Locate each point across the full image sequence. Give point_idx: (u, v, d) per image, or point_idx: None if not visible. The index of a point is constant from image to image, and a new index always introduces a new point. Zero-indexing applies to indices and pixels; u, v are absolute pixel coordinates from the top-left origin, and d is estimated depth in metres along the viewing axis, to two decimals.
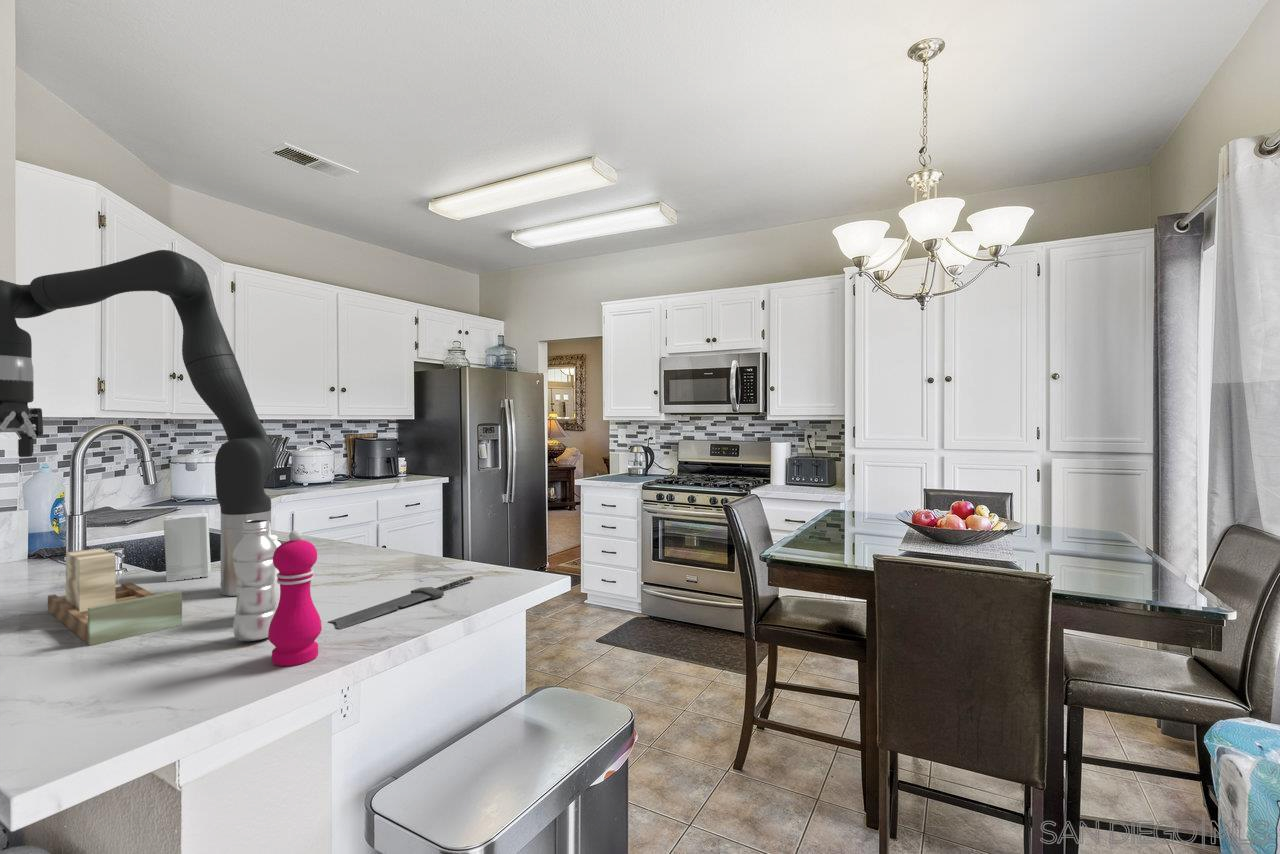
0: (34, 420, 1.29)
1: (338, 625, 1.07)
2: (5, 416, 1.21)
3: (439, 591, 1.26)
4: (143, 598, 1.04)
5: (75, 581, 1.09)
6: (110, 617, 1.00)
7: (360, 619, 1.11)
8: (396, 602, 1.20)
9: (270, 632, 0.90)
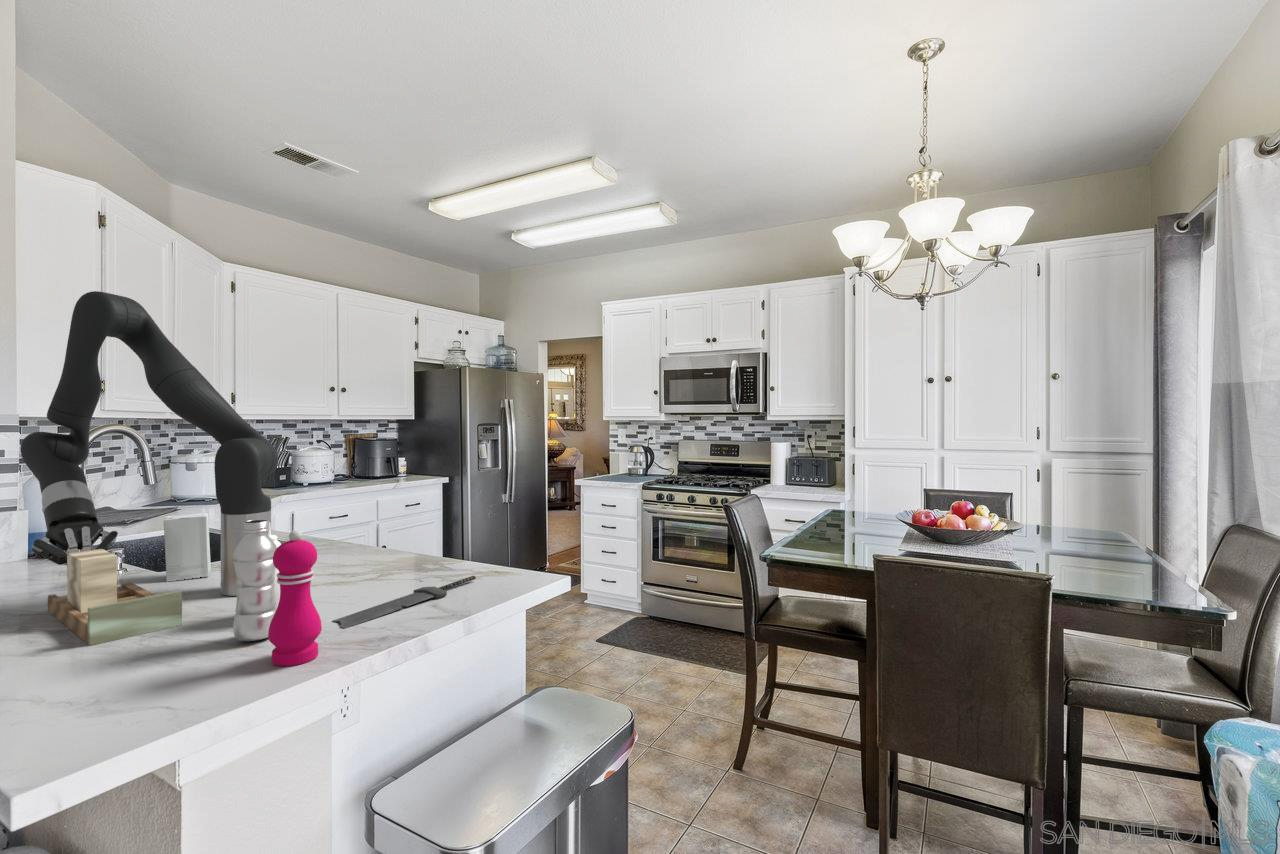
0: None
1: (342, 624, 1.08)
2: (65, 537, 1.17)
3: (442, 591, 1.26)
4: (143, 598, 1.04)
5: (76, 582, 1.09)
6: (110, 617, 1.00)
7: (364, 618, 1.11)
8: (399, 601, 1.20)
9: (270, 632, 0.90)
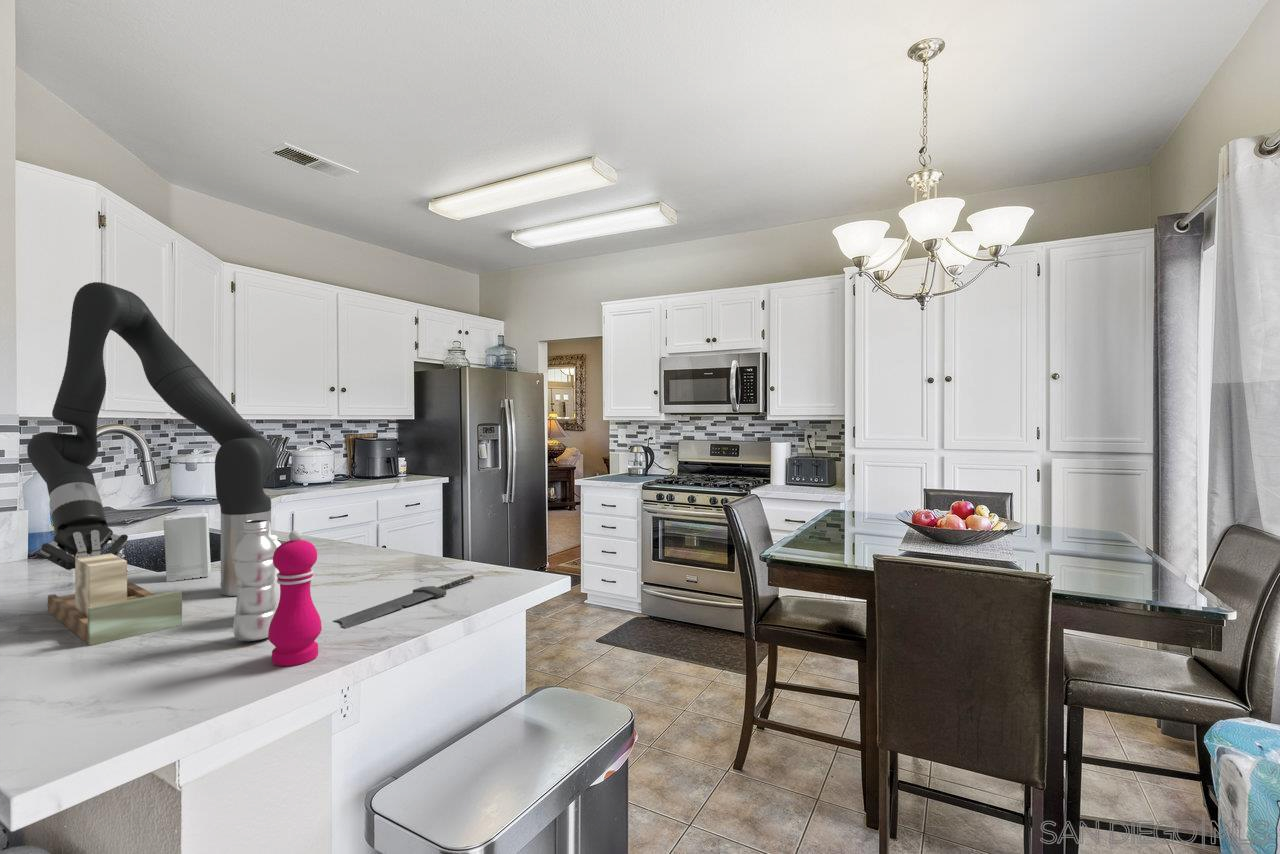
0: (113, 545, 1.17)
1: (344, 624, 1.08)
2: (74, 541, 1.13)
3: (442, 590, 1.27)
4: (143, 598, 1.04)
5: (85, 589, 1.04)
6: (110, 617, 1.00)
7: (365, 618, 1.11)
8: (399, 601, 1.20)
9: (270, 632, 0.90)
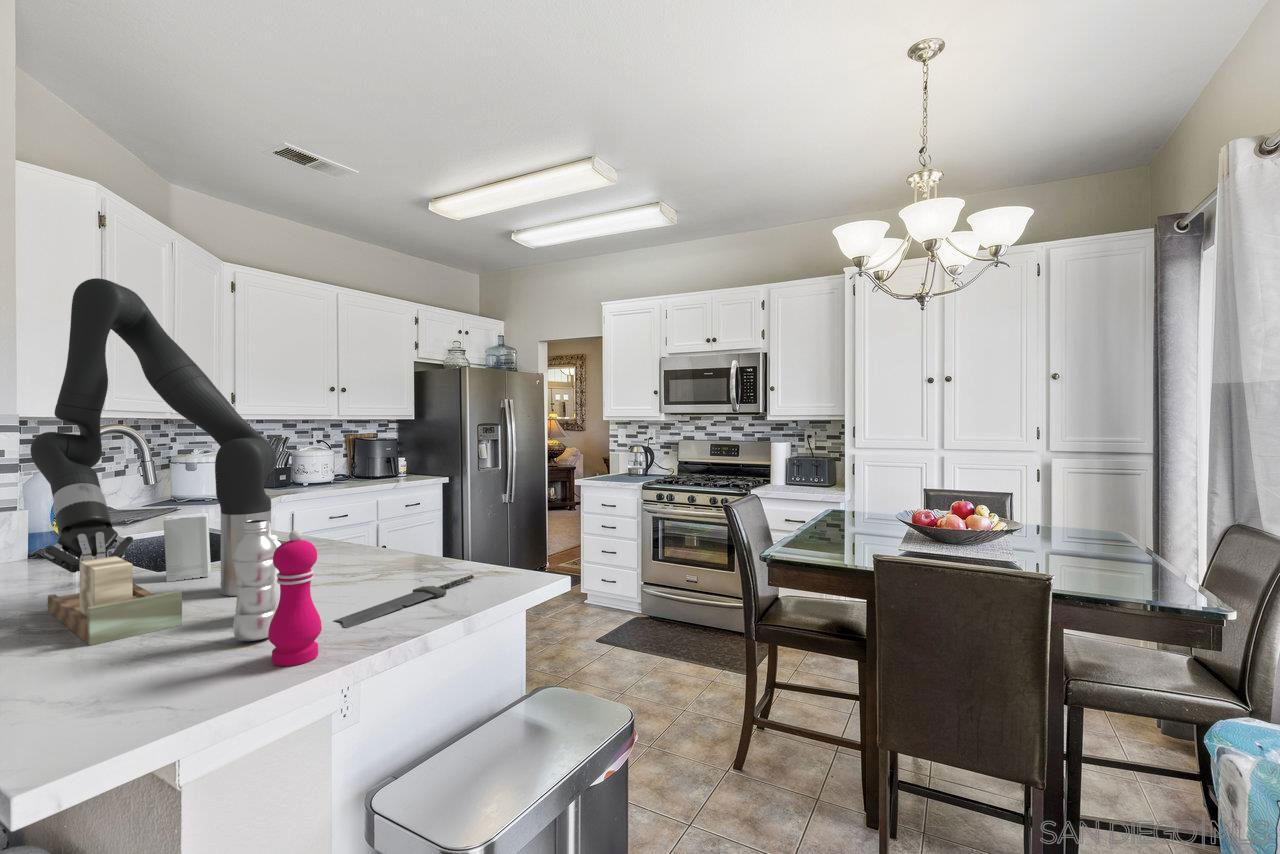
0: (118, 547, 1.15)
1: (344, 624, 1.08)
2: (78, 543, 1.11)
3: (442, 590, 1.27)
4: (143, 598, 1.04)
5: (90, 592, 1.02)
6: (110, 617, 1.00)
7: (366, 618, 1.11)
8: (400, 601, 1.20)
9: (270, 632, 0.90)
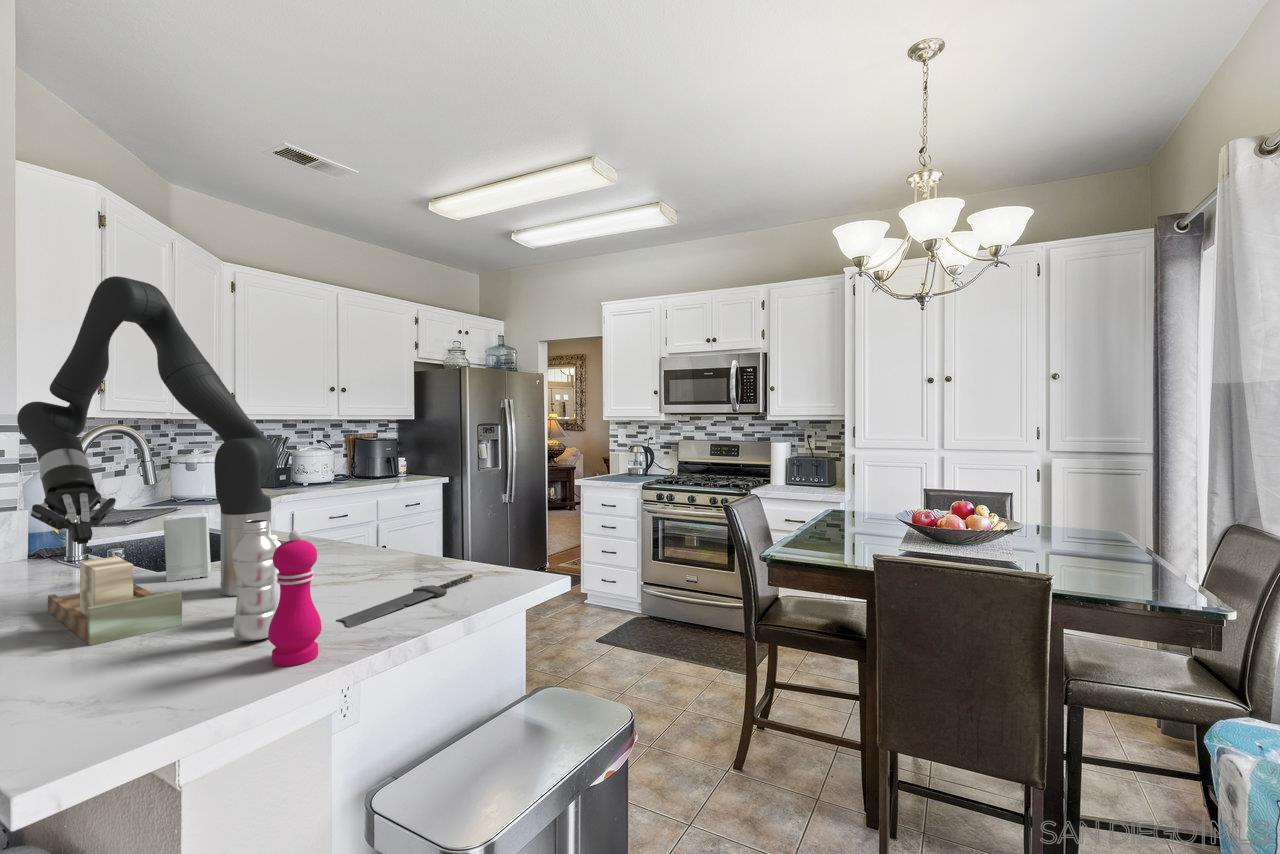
0: None
1: (347, 623, 1.08)
2: (63, 502, 1.18)
3: (442, 589, 1.27)
4: (143, 598, 1.04)
5: (90, 593, 1.02)
6: (110, 617, 1.00)
7: (368, 617, 1.12)
8: (401, 600, 1.21)
9: (270, 632, 0.90)
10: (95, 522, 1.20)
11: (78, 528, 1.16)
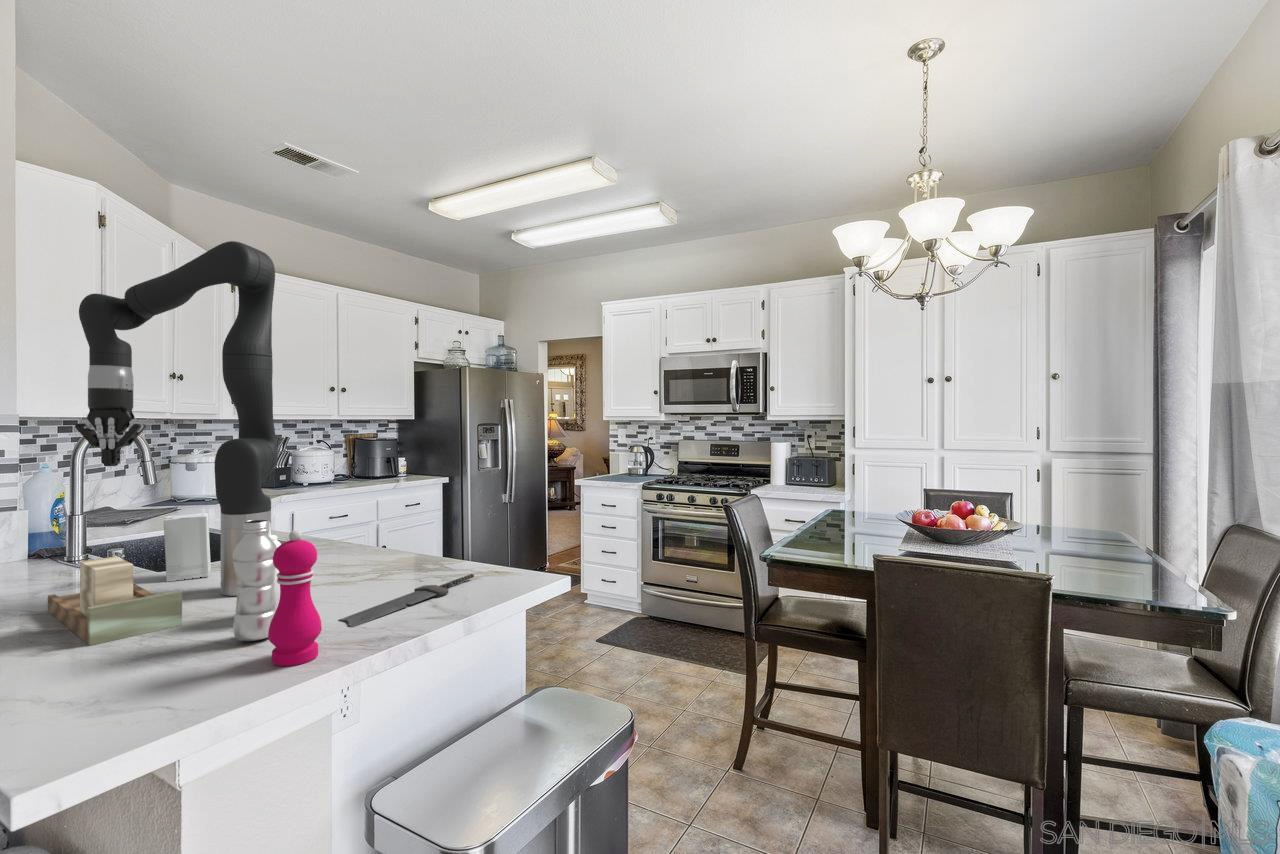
0: None
1: (350, 623, 1.09)
2: None
3: (444, 589, 1.28)
4: (143, 598, 1.04)
5: (90, 593, 1.02)
6: (110, 617, 1.00)
7: (371, 617, 1.12)
8: (403, 600, 1.21)
9: (270, 632, 0.90)
10: (123, 446, 1.32)
11: (104, 455, 1.30)
